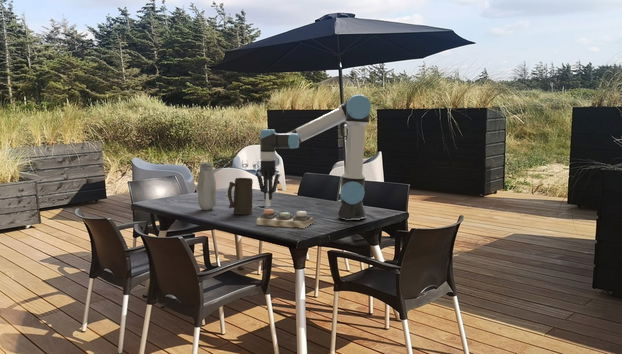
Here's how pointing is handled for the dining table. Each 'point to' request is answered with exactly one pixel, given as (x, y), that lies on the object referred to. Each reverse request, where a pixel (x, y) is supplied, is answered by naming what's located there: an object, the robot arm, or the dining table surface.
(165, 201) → the dining table surface
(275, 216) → the button panel
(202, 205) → the glass bottle
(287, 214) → the sage button
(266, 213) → the terracotta button
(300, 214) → the cream button
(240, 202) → the beer stein
